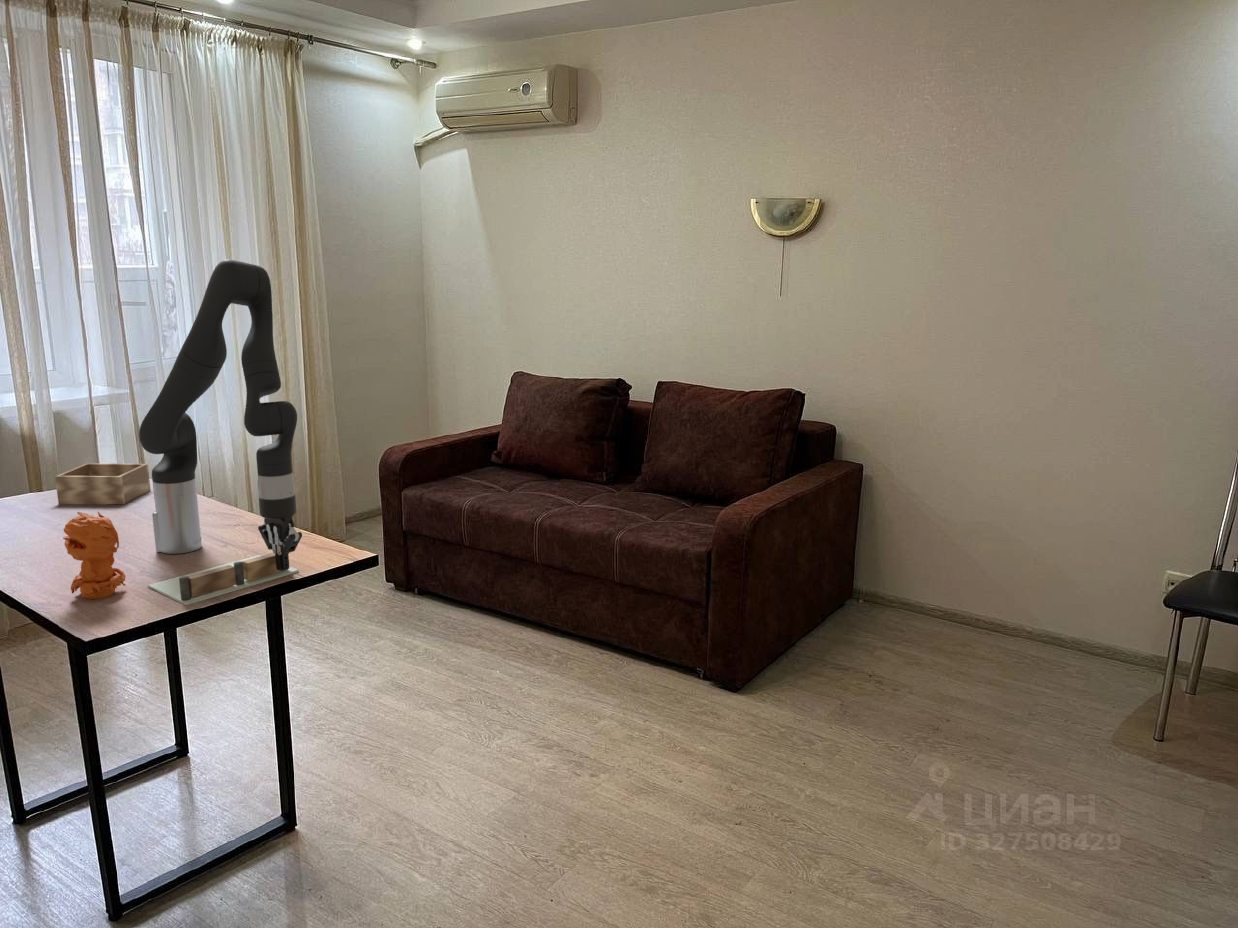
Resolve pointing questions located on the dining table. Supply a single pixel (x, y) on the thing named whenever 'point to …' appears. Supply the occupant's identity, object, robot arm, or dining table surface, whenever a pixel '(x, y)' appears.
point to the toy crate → (102, 483)
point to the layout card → (173, 591)
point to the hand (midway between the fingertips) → (282, 569)
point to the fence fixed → (211, 580)
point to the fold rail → (259, 567)
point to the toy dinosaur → (93, 555)
